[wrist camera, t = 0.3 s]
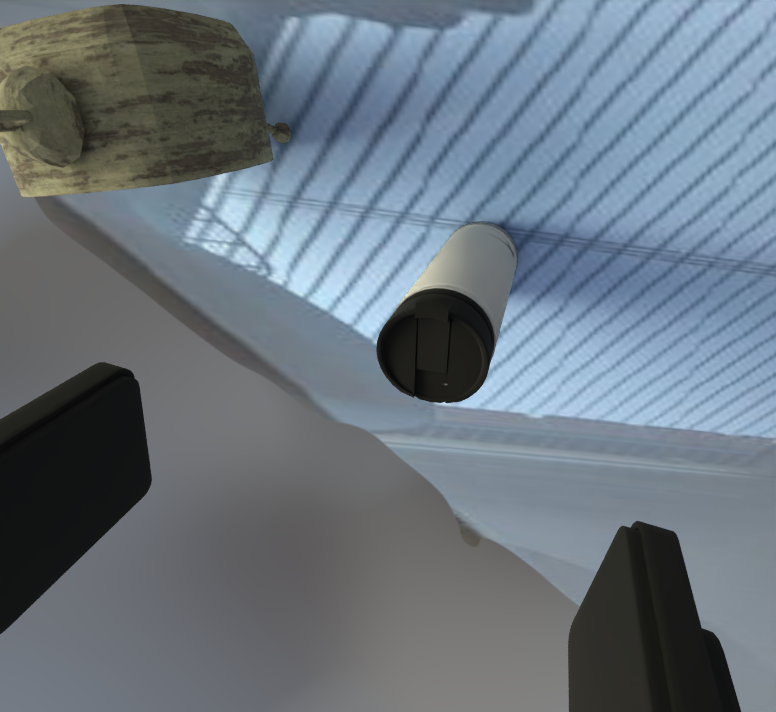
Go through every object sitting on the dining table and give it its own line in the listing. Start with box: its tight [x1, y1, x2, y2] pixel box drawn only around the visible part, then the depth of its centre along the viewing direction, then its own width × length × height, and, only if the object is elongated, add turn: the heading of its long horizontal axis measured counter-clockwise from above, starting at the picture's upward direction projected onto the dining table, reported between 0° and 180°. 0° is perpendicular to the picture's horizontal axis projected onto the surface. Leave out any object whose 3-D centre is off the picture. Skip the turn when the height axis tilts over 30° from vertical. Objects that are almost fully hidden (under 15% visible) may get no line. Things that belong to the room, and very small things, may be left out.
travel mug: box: [376, 222, 518, 403], centre depth 35 cm, size 6×7×20 cm
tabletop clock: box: [0, 4, 291, 197], centre depth 34 cm, size 14×9×25 cm, turn 96°
